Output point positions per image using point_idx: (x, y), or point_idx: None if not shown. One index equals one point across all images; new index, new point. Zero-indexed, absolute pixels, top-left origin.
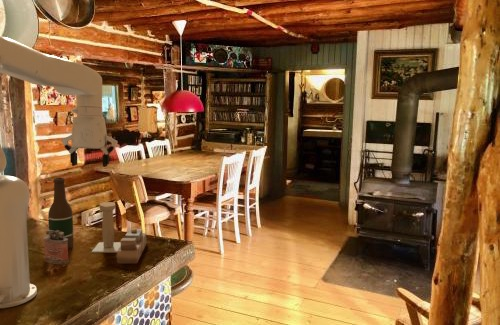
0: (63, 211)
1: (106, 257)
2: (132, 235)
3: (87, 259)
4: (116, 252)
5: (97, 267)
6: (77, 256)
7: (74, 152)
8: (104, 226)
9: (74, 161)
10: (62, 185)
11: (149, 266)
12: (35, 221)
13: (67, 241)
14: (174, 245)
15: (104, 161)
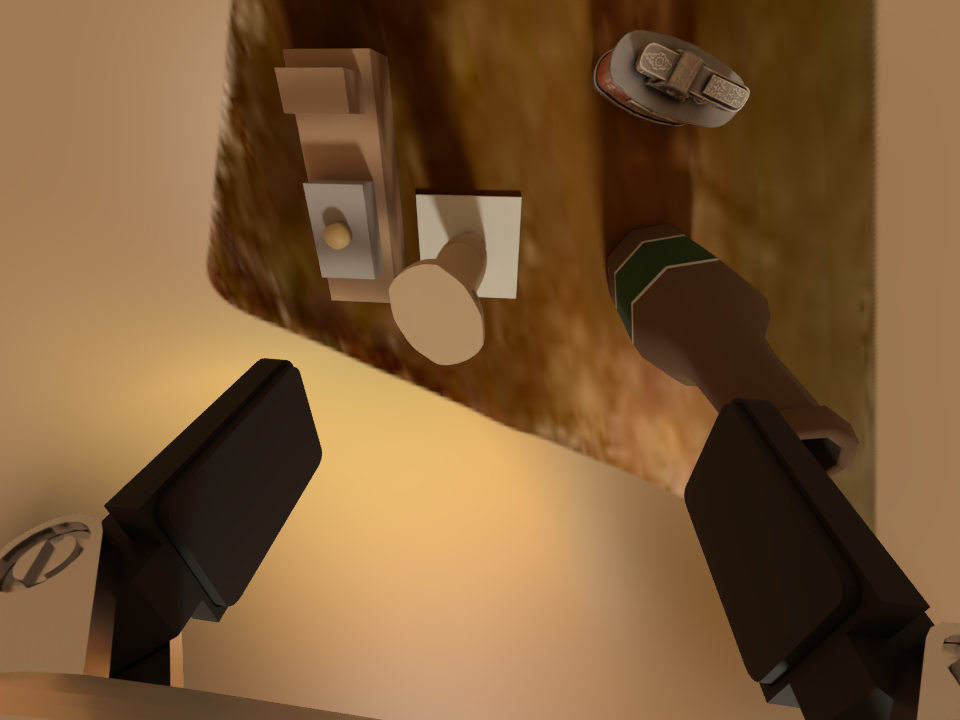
0: (682, 286)
1: (451, 137)
2: (330, 183)
3: (521, 114)
4: (428, 194)
5: (456, 3)
6: (569, 153)
7: (850, 668)
8: (466, 253)
9: (750, 458)
10: None
11: (248, 16)
12: None
13: (609, 59)
14: (248, 263)
15: (217, 403)
